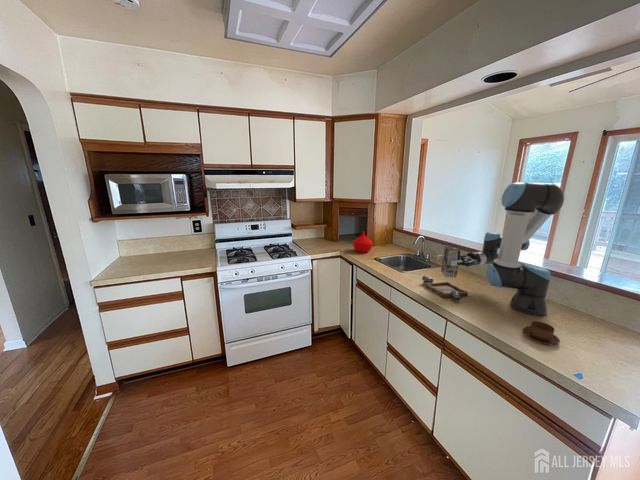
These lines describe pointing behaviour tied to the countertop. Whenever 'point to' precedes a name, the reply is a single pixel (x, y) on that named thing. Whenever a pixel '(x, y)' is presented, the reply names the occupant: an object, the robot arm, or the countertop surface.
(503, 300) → the countertop surface
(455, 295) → the shaft
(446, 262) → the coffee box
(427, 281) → the shaft
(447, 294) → the coupling cradle
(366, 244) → the vase
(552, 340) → the cup and saucer
